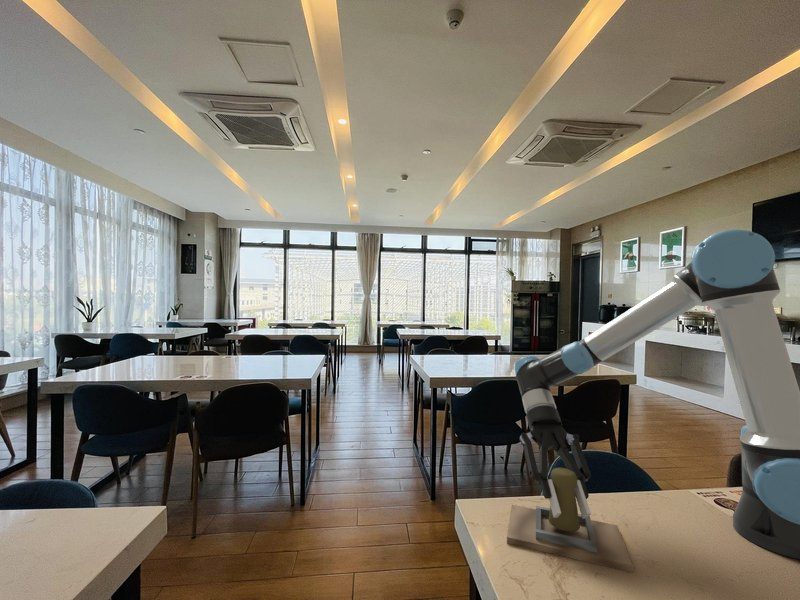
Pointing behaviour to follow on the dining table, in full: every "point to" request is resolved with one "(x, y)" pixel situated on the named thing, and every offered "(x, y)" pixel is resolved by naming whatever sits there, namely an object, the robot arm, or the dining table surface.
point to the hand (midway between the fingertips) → (572, 515)
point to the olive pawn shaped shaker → (565, 500)
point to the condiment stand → (568, 538)
